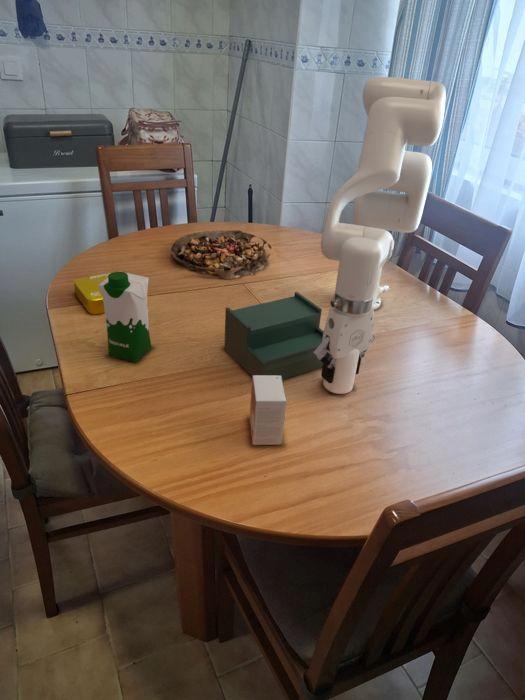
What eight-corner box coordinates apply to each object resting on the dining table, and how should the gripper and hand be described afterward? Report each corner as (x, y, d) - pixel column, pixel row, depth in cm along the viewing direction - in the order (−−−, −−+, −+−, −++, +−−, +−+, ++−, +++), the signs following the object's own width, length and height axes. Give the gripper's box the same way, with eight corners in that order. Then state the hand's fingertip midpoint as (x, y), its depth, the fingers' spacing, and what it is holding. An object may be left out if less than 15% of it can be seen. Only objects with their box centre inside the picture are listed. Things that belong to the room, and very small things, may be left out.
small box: (249, 417, 101) (252, 374, 95) (277, 417, 101) (281, 374, 96) (251, 445, 94) (255, 400, 88) (281, 445, 95) (286, 400, 89)
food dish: (271, 285, 156) (272, 261, 151) (162, 280, 155) (160, 256, 151) (271, 241, 184) (272, 220, 180) (179, 236, 184) (178, 215, 180)
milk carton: (103, 356, 116) (92, 275, 105) (124, 338, 123) (117, 260, 112) (137, 365, 113) (130, 283, 103) (157, 346, 121) (152, 267, 110)
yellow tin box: (126, 282, 149) (124, 267, 146) (146, 304, 138) (145, 288, 136) (73, 293, 141) (71, 277, 139) (90, 316, 131) (88, 299, 128)
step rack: (334, 363, 119) (341, 322, 113) (261, 386, 110) (265, 343, 104) (293, 330, 131) (297, 291, 125) (224, 348, 122) (225, 307, 116)
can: (351, 397, 108) (361, 349, 102) (321, 392, 109) (328, 344, 103) (353, 380, 114) (362, 334, 108) (324, 375, 115) (331, 329, 108)
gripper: (330, 318, 94) (318, 396, 103) (398, 300, 102) (381, 374, 112) (306, 301, 99) (297, 377, 109) (372, 285, 107) (358, 357, 117)
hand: (339, 374), depth 110 cm, fingers closed on can, 6 cm apart
